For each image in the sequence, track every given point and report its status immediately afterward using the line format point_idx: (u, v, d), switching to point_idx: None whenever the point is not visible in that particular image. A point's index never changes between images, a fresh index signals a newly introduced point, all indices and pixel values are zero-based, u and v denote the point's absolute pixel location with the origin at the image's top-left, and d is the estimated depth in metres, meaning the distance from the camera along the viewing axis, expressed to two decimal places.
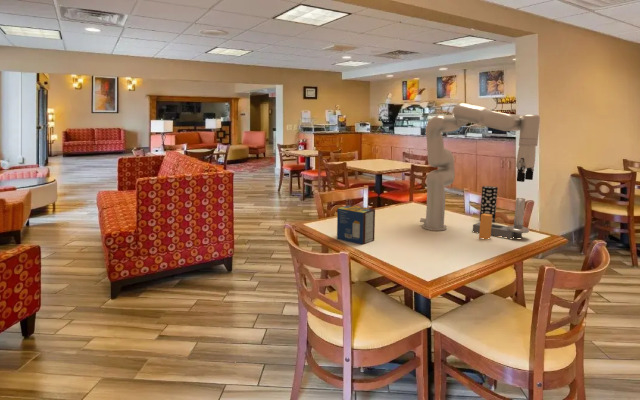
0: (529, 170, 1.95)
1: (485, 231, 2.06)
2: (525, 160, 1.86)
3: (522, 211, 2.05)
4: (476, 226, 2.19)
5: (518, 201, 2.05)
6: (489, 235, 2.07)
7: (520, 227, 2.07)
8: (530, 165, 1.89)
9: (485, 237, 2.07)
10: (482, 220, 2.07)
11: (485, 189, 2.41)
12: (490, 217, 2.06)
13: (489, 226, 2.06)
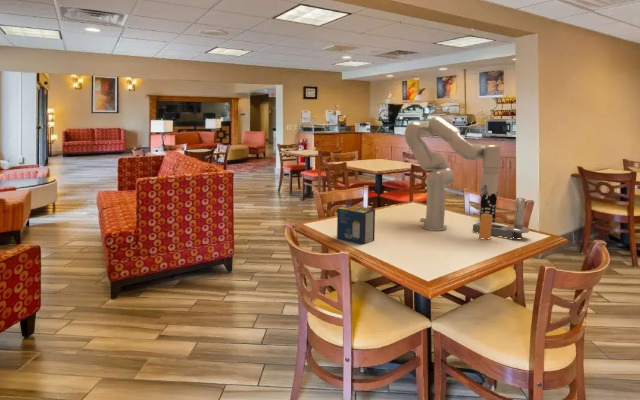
0: (493, 196, 2.08)
1: (485, 231, 2.06)
2: (487, 187, 2.00)
3: (522, 211, 2.05)
4: (476, 226, 2.19)
5: (518, 201, 2.05)
6: (489, 235, 2.07)
7: (520, 227, 2.07)
8: (492, 191, 2.03)
9: (485, 237, 2.07)
10: (482, 220, 2.07)
11: None
12: (490, 217, 2.06)
13: (489, 226, 2.06)
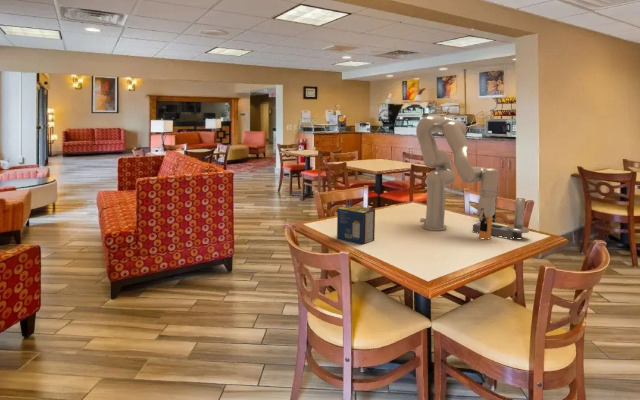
0: None
1: None
2: (485, 210, 2.02)
3: (522, 211, 2.05)
4: (476, 226, 2.19)
5: (518, 201, 2.05)
6: (489, 235, 2.07)
7: (520, 227, 2.07)
8: (490, 214, 2.05)
9: (485, 237, 2.07)
10: None
11: None
12: (490, 217, 2.06)
13: (489, 226, 2.06)
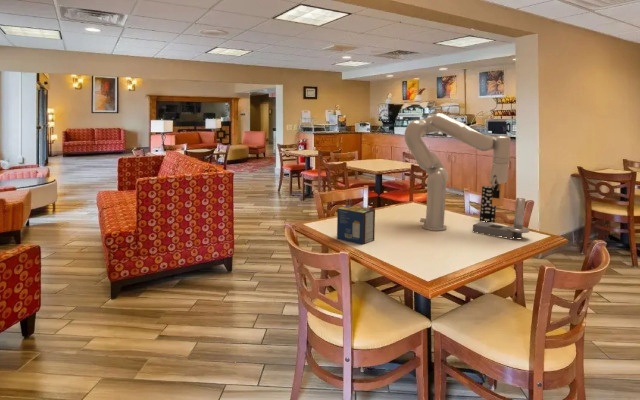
0: None
1: (498, 198, 2.11)
2: (497, 177, 2.07)
3: (522, 211, 2.05)
4: (476, 226, 2.19)
5: (518, 201, 2.05)
6: (501, 202, 2.12)
7: (520, 227, 2.07)
8: (502, 181, 2.10)
9: (498, 204, 2.12)
10: None
11: (485, 189, 2.41)
12: (503, 184, 2.11)
13: (502, 193, 2.11)
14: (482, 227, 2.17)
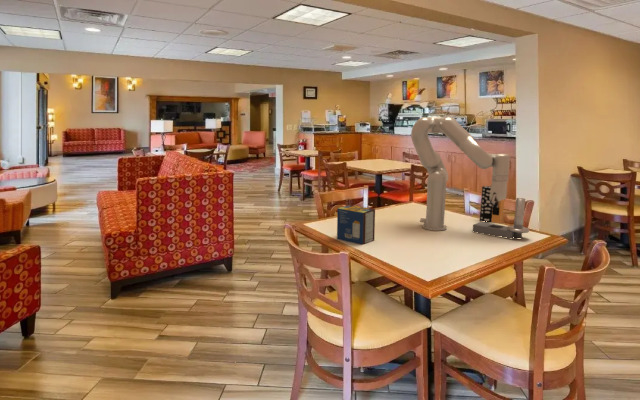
0: None
1: None
2: (497, 194, 2.09)
3: (522, 211, 2.05)
4: (476, 226, 2.19)
5: (518, 201, 2.05)
6: (501, 218, 2.14)
7: (520, 227, 2.07)
8: (502, 198, 2.12)
9: (498, 221, 2.14)
10: None
11: (485, 189, 2.41)
12: (502, 201, 2.13)
13: (501, 210, 2.13)
14: (482, 227, 2.17)
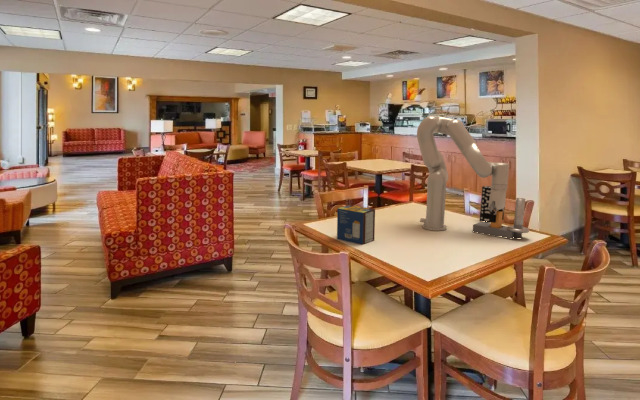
0: None
1: (496, 227, 2.15)
2: (496, 203, 2.10)
3: (522, 211, 2.05)
4: (476, 226, 2.19)
5: (518, 201, 2.05)
6: None
7: (520, 227, 2.07)
8: (501, 207, 2.13)
9: None
10: None
11: (485, 189, 2.41)
12: (500, 214, 2.14)
13: (499, 222, 2.15)
14: (482, 227, 2.17)
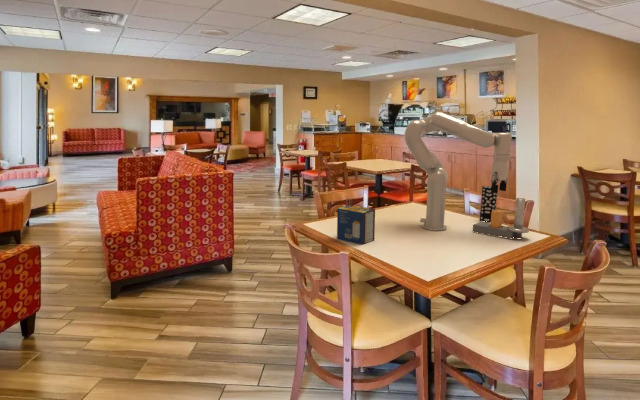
0: (503, 182, 2.16)
1: (496, 227, 2.15)
2: (498, 174, 2.08)
3: (522, 211, 2.05)
4: (476, 226, 2.19)
5: (518, 201, 2.05)
6: None
7: (520, 227, 2.07)
8: (503, 178, 2.10)
9: None
10: (493, 216, 2.15)
11: (485, 189, 2.41)
12: (501, 214, 2.14)
13: (500, 222, 2.15)
14: (482, 227, 2.17)
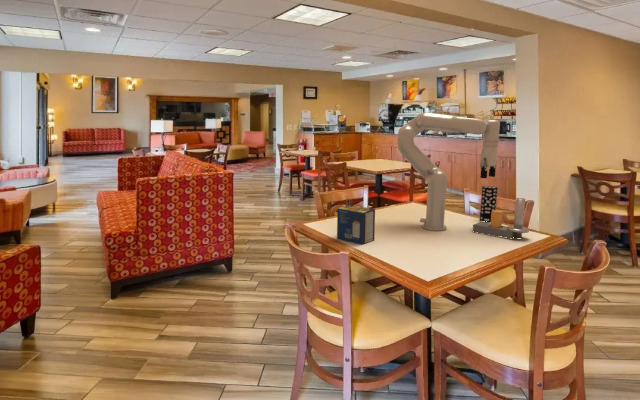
0: (492, 168, 2.23)
1: (496, 227, 2.15)
2: (487, 159, 2.15)
3: (522, 211, 2.05)
4: (476, 226, 2.19)
5: (518, 201, 2.05)
6: None
7: (520, 227, 2.07)
8: (492, 164, 2.17)
9: None
10: (493, 216, 2.15)
11: (485, 189, 2.41)
12: (500, 214, 2.14)
13: (499, 222, 2.15)
14: (482, 227, 2.17)
